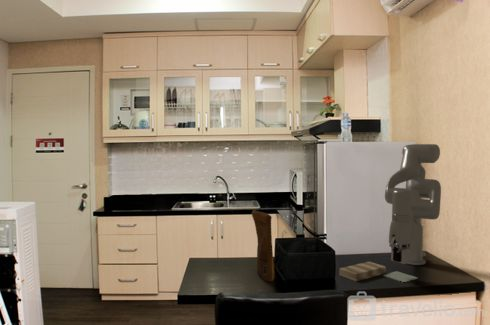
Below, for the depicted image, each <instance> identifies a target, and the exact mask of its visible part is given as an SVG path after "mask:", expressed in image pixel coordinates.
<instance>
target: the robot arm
mask: <svg viewBox="0 0 490 325" xmlns="http://www.w3.org/2000/svg"><path fill="white" fill-rule="evenodd" d="M440 148H441V147H440V146H439V145H438V144H436V143H435V144H433V143H430V144H429V143H424V144H423V143H422V144H421V143H417V144H416V143H412V144H406V145H405V146H403V148H402V152H401V153H402V159H401V164H400V169H399V170H397V171H396V172H395V173H393V174H392V175H391V176H390V177H389V179H388V181H387V183H386V185H385V191H384V200H385V202H386V203H387V204H390V205H392V206H391V221H390V226H389V232H388V243H389V247H390V249H391V248H392V251H393V261H392V262H395V261H397V262H396V263H398V262H400V259H401V253H399V252H400V247H405V248H410V263H406V264H405V265H413V266H422V265H426V263H427V261H426V259H424V257H425V256H426V255H427V253H426V252H425V251H423V241H424V240H423V239H424V238H423V237H424V236H423V233H424V232H423V231H424V227H423V225H422V223H421V222H420V221H419V219H423V220H437V219H438V218H439V216H440V211H441V198H442V197H441V195H442V187H441V183H440V181H439V180H437V179H432V178H431V179H430V178H426V169H425V168H424V166H423V165H422V164H434V163H436V162H437V161H438V160H439V158H440V156H441V149H440ZM404 182H405V188H404V187H401V188H400V187H396V186H398V185H400V184H402V183H404ZM396 246H398V248H397V247H396Z"/></svg>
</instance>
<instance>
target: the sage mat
mask: <svg viewBox="0 0 490 325" xmlns="http://www.w3.org/2000/svg"><path fill="white" fill-rule="evenodd" d="M382 277H386V278H387V279H391V280H393V281H397V282H400V281H401V282H400V283H403V282H405V283H408V282H412V281H415V280H418V279H419V277H416V276H414V275H410V274H407V273H403V272H400V271H397V270H396V271H392V272H390V273H385V274H382ZM411 280H412V281H411Z"/></svg>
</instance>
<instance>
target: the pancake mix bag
mask: <svg viewBox="0 0 490 325" xmlns="http://www.w3.org/2000/svg"><path fill="white" fill-rule="evenodd" d="M251 216H252V220H253V222H254V225H255V227H254V228H255V231H256V232H255V233H256V237H257V248H256V250H257V251H256V253H257V254H256V273H257V274H258V275H259V276H260V277H261V279H262V280H263V281H266V282H270V283H271V282H273V281H274V280H275V268H274V255H273V254H274V253H273V243H272V241H273V240H272V238H273V237H272V215H270V214H268V213H266V212H262V211H260V210H259V211H258V210H255V209H253V210H252V211H251Z"/></svg>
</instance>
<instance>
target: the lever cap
mask: <svg viewBox="0 0 490 325" xmlns="http://www.w3.org/2000/svg"><path fill="white" fill-rule="evenodd" d="M396 247H397V248H398V246H396ZM390 249H391V253H390V254H391V255H390V256H391V257H390V261H392V262H394V263H398V264H401V265H402V264H403V265H407V264H406V263H410V248H405V247H400V252H399V253H401V259H400V262H397V261H393V251H392V248H391V247H390Z"/></svg>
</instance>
